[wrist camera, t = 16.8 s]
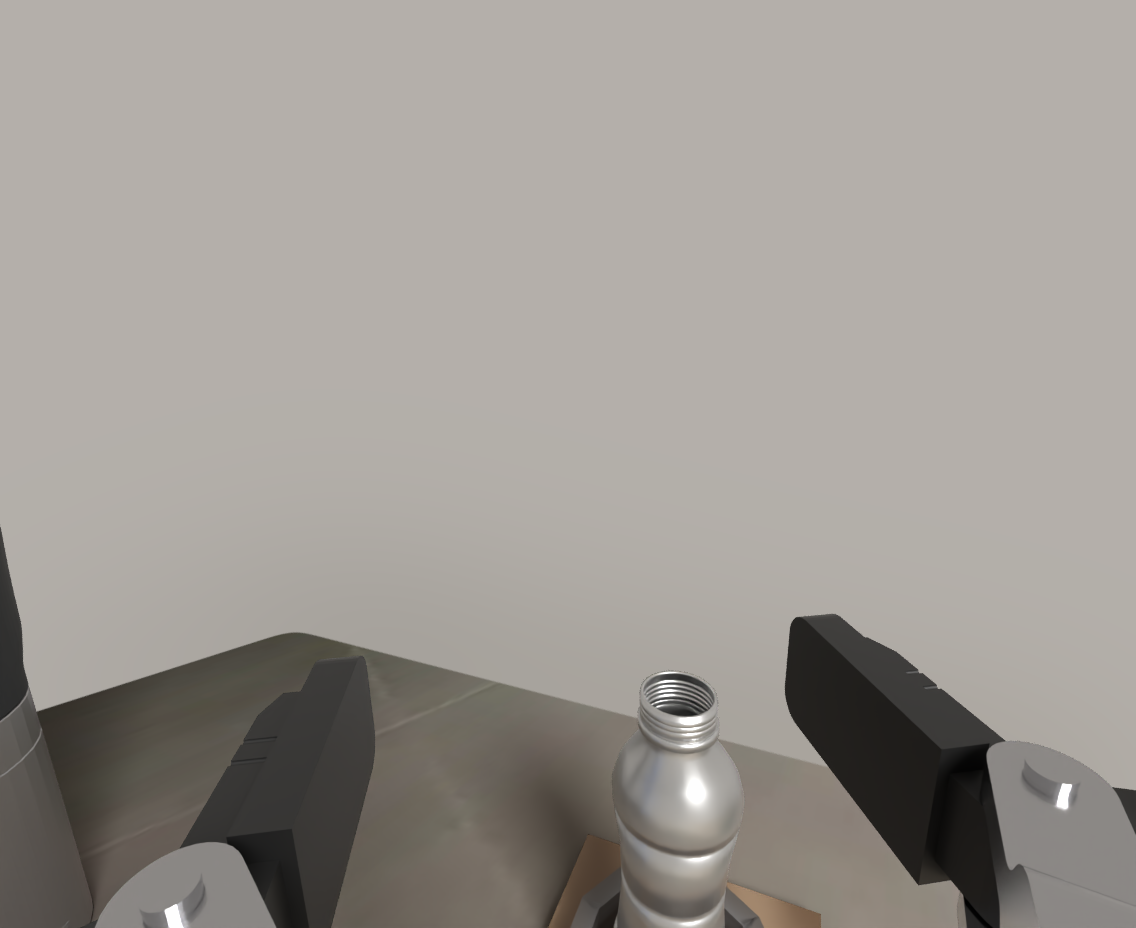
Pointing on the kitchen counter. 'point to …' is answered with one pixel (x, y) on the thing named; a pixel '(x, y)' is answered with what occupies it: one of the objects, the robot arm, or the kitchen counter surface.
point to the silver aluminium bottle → (675, 808)
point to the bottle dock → (611, 861)
